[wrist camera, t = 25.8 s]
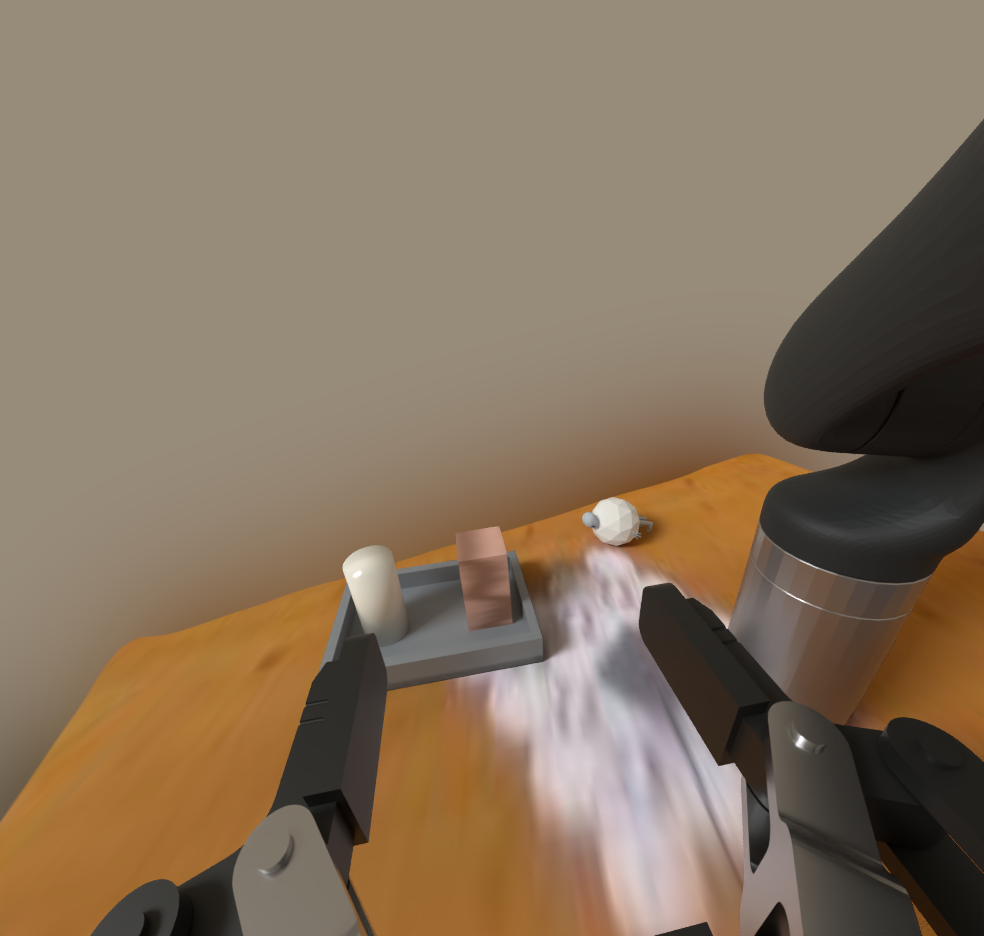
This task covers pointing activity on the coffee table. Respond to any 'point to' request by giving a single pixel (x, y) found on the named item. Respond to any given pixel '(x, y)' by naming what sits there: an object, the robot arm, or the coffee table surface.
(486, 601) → the coral block
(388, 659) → the tray
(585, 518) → the alien figurine
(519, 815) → the coffee table surface
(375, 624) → the cream cylinder
